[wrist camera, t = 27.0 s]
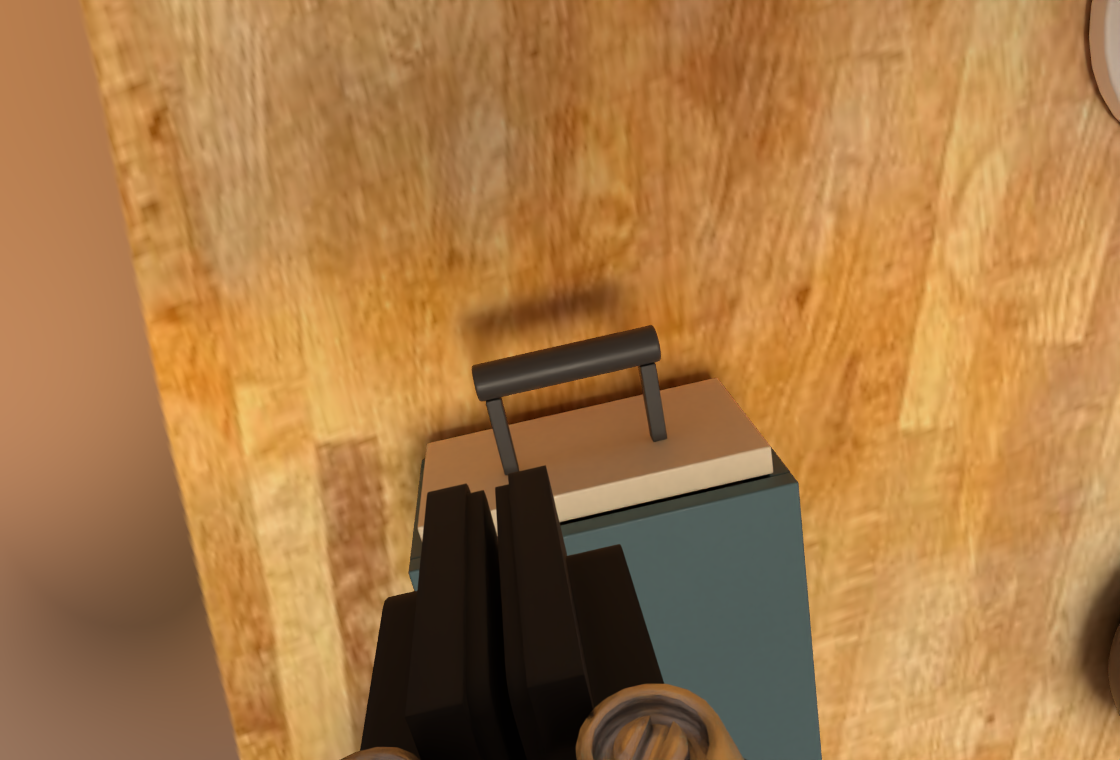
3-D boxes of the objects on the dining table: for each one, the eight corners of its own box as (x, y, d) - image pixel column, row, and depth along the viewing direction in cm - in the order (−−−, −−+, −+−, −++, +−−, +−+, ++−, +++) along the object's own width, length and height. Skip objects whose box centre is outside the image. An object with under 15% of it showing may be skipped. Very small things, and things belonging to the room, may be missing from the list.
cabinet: (421, 459, 36) (407, 572, 28) (727, 389, 36) (799, 482, 28) (501, 718, 42) (509, 869, 34) (759, 657, 43) (825, 793, 35)
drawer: (397, 346, 33) (379, 414, 26) (704, 277, 33) (759, 328, 27) (503, 697, 41) (509, 813, 34) (750, 639, 41) (801, 744, 35)
